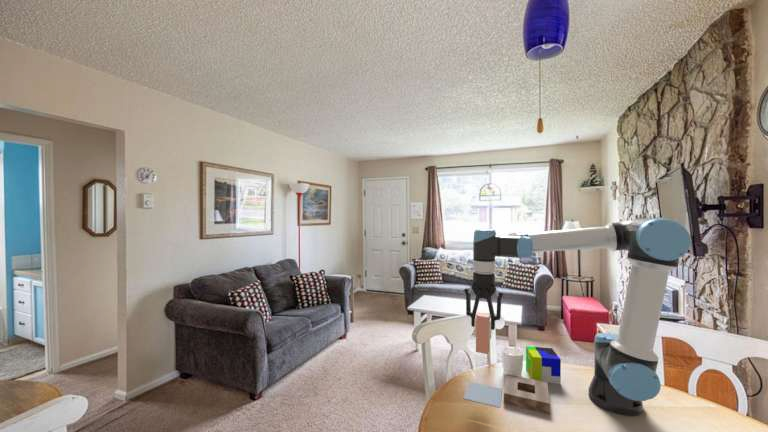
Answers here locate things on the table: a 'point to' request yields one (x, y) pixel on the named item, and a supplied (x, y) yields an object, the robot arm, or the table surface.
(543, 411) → the pocket block
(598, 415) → the table surface
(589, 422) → the table surface
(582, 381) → the table surface
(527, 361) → the puzzle toy
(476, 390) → the mat
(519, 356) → the white cup
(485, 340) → the peg
